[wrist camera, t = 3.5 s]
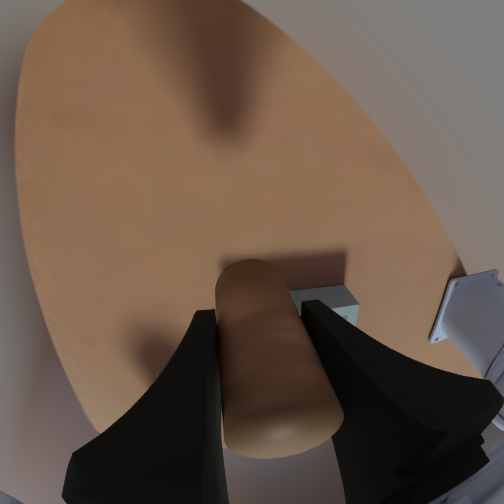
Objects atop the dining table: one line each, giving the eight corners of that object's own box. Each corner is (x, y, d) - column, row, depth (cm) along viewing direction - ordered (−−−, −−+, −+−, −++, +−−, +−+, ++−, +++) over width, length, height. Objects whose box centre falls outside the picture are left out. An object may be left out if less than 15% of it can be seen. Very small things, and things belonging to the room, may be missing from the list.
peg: (285, 256, 12) (355, 387, 6) (283, 315, 13) (332, 446, 7) (212, 261, 12) (217, 409, 5) (218, 321, 13) (229, 463, 6)
